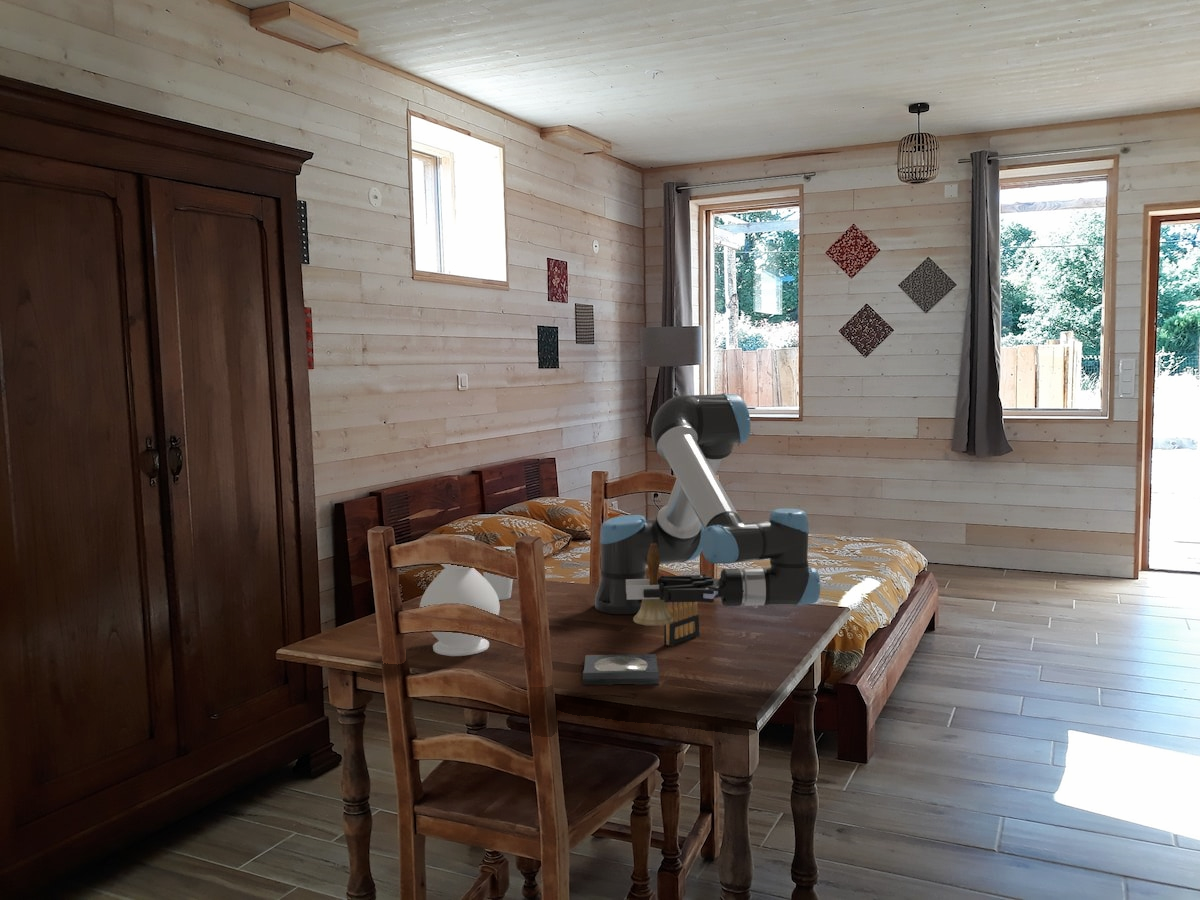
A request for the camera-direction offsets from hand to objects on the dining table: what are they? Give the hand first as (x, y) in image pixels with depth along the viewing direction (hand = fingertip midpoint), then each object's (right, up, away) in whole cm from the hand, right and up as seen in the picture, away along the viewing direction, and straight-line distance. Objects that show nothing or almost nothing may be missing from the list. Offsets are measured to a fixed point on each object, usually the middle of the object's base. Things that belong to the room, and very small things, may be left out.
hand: (626, 589), depth 188 cm
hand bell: (+6, -7, +1) cm, 9 cm away
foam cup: (-33, -12, +65) cm, 74 cm away
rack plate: (-1, -17, +3) cm, 18 cm away
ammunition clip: (+13, -15, +23) cm, 31 cm away
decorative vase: (-37, -17, +21) cm, 46 cm away
